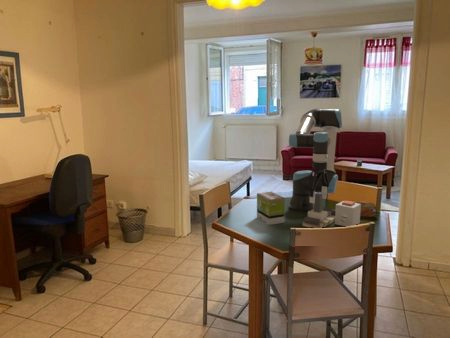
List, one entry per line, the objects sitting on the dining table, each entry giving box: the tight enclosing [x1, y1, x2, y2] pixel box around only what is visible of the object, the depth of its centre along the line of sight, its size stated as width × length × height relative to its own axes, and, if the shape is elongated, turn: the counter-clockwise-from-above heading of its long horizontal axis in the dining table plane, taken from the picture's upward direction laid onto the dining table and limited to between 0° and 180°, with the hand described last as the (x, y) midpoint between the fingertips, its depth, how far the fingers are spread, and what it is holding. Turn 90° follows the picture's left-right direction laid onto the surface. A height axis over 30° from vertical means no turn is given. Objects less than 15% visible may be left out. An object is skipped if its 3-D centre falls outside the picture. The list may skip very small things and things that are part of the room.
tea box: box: [256, 191, 286, 226], centre depth 218 cm, size 15×10×15 cm, turn 23°
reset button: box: [341, 200, 356, 206], centre depth 211 cm, size 5×5×3 cm
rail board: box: [302, 207, 336, 229], centre depth 215 cm, size 24×10×5 cm, turn 140°
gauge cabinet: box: [334, 200, 361, 227], centre depth 212 cm, size 10×11×11 cm
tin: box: [354, 201, 378, 218], centre depth 226 cm, size 15×3×8 cm, turn 68°
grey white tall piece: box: [307, 192, 327, 222], centre depth 210 cm, size 7×8×15 cm
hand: (318, 200), depth 209 cm, fingers open, 13 cm apart
